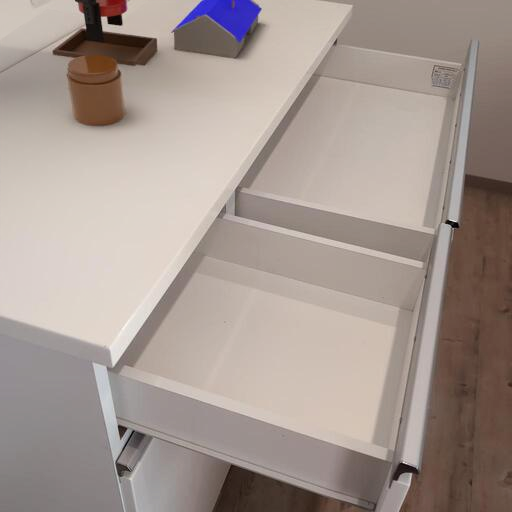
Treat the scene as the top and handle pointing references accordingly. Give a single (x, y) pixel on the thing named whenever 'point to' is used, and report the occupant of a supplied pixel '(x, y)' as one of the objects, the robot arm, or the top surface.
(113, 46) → the tray
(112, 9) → the cap
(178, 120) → the top surface
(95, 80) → the jar
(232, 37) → the toy house
